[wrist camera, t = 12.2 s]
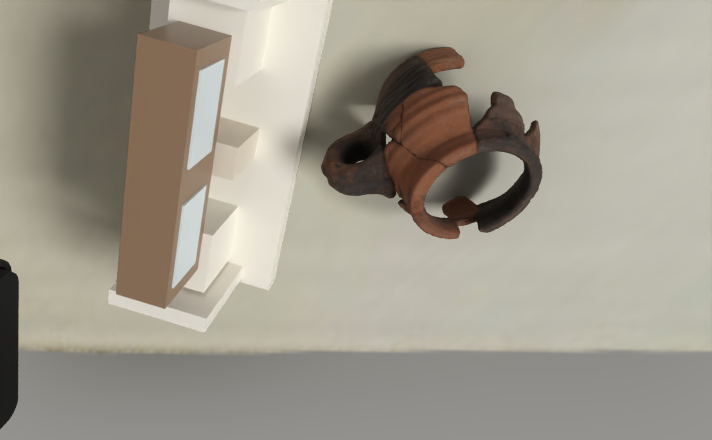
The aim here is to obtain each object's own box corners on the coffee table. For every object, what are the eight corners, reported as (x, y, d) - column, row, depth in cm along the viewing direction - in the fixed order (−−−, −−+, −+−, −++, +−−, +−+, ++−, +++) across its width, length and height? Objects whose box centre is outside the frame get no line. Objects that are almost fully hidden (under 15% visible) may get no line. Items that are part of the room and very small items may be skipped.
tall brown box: (177, 20, 33) (135, 33, 29) (233, 36, 33) (199, 51, 29) (151, 255, 39) (114, 293, 35) (199, 269, 39) (166, 309, 35)
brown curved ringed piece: (500, 14, 36) (560, 102, 31) (506, 138, 43) (556, 228, 38) (294, 77, 37) (317, 175, 31) (333, 190, 44) (358, 287, 38)
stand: (169, -62, 37) (94, -60, 30) (336, -17, 37) (301, -4, 29) (139, 239, 46) (76, 297, 39) (274, 279, 45) (236, 345, 38)
